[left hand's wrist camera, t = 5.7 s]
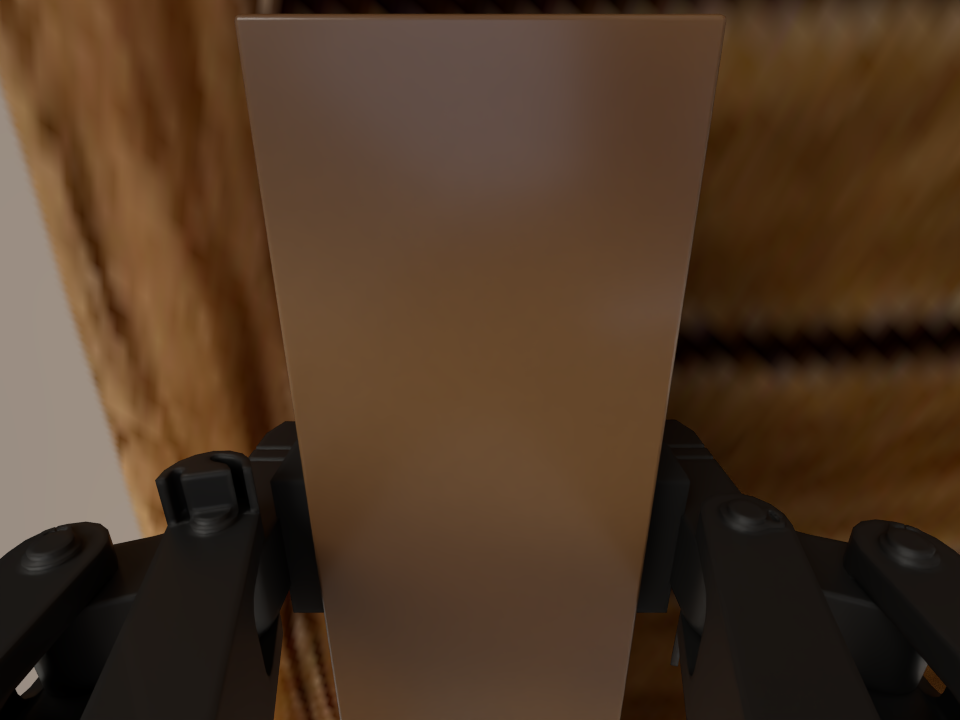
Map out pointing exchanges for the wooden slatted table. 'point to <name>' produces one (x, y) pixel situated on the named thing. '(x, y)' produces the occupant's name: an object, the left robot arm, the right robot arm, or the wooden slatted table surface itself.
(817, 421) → the wooden slatted table surface
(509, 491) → the bar
